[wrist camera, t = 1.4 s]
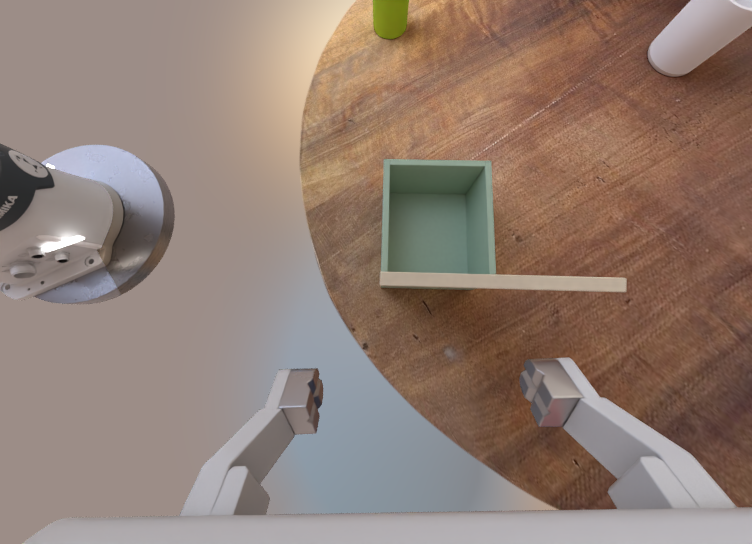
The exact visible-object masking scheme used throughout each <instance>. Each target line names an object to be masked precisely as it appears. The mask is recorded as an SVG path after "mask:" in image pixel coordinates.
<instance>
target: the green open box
mask: <svg viewBox="0 0 752 544" xmlns="http://www.w3.org/2000/svg"><path fill="white" fill-rule="evenodd" d="M381 272H418V273H457V274H496V262H495V238H494V215H493V192H492V168H491V161H463V160H403V159H384V175H383V213H382V251H381ZM381 288H412V289H449V290H474V289H477V288H446V287H409V286H381Z"/></svg>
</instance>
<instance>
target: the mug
mask: <svg viewBox="0 0 752 544" xmlns="http://www.w3.org/2000/svg"><path fill="white" fill-rule="evenodd" d="M751 26H752V0H691V1H690V2H689V3H688V4H687V5H686V6H685V7H684V8H683V9H682V10H681V12H680V13H679V14H678V15H677V16H676V17H675V18H674V19H673V20H672V21H671V22H670V23H669V24H668V26H667V27H666V28H665V29H664V30H663V31H662V32H661V33H660V34H659V35H658V36H657V37H656V38H655V40H654V41H653V42H652V43H651V44H650V46H649V49H648V60H649V63H650V64H651V65H652V67H653V68H654V69H655V70H656V71H658V72H659V73H661V74H663V75H667V76H672V77H677V76H682V75H685V74H687V73H689V72H690V71H692V70H693V69H694V68H696V67H697V66H699V65H700V64H701V63H703V62H704V61H705V60H707V59H708V58H709V57H711V56H712V55H713V54H715V53H716V52H718V51H719V50H720V49H722V48H723V47H724V46H726V45H727V44H728V43H730V42H731V41H732V40H734V39H735V38H737V37H738V36H739V35H741V34H742V33H743V32H745V31H746V30H747V29H749V28H750V27H751Z"/></svg>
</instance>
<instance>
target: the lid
mask: <svg viewBox="0 0 752 544" xmlns="http://www.w3.org/2000/svg"><path fill="white" fill-rule="evenodd" d="M380 286H409V287H446V288H483V289H521V290H558V291H595V292H626V278H613V277H574V276H535V275H496V274H457V273H418V272H380Z"/></svg>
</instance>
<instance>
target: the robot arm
mask: <svg viewBox="0 0 752 544" xmlns="http://www.w3.org/2000/svg"><path fill="white" fill-rule="evenodd" d="M54 168H55V167H54V166H52V165H50V164H47V165H46V166H45V165H43V164H41V163H39V162H38V161H35V160H34V159H32V158H30V157H28V156H26V155H24V154H22V153H20V152H18V151H15V150H13V149H11V148H9V147H7V146H4V145H2V144H0V290H1V291H2V292H3V293H4V294H5V295H7V296H9V297H10V298H13V299H15V300H26V299H29V298H31V297H34V296H36V295H39V294H41V293H43V292H46V291H48V290H50V289H53V288H55V287H57V286H60V285H62V284H65V283H67V282H69V281H72V280H74V279H76V278H79V277H81V276H83V275H86V274H88V273H91V272H93V271H95V270H98V269H100V268H102V267H105V266H106V265H108V264H109V262H110V260H111V255H112V246H113V244H114V241H115V240H116V238H117V236H118V234H119V232H120V229H121V226H122V223H123V205H122V202H121V199H120V197H119V195H118V194H117V193H116V191H115V190H114V189H113V188H112V187H110V186H109V185H107V184H105V183H103V182H101V181H97V180H92V179H87V178H83V177H79V176H75V175H72V174H68V173H65V172H62V171H59V170H56V169H54ZM524 367H525V369H526V370H524V371H523V372H521V375H520V387H521V390H522V393H523V395H524V397H525V398H526V399H527V400H528V401H530V402H531V403H532V404H531V408H530V410H531V412H532V414H533V416H534V418H535V420H536V422H537V424H538V426H539V427H563V429H564V430H566V431H567V432H568V433H569V434H570V435H571V436H572V437H573V438H574V439H575V440H576V441H577V442H578V443H579V444H581V445H582V446H583V447H584V448H585V449H586V450H587V451H588V452H589V453H590V454H591V455H592V456H593V457H594V458H596V459H597V460H598V461H599V462H600V463H601V464H602V465H603V466H604V467H605V468H606V469H607V470H608V471H610V472H611V473H612V474H613V475H614V476H615V477H616V478H617V479H618V480H617V481H616V482H615V483H614V484H613V485H612V486H610V487H609V490H608V493H609V495H610V497H611V499H612V501H613V502H614V504H615V506H616V508H617V509H605V510H542V511H540V510H538V511H475V512H474V511H473V512H472V511H471V512H407V513H406V512H405V513H345V514H344V513H339V514H274V515H266V512H267V508H268V504H269V500H270V498H269V495H268V494H267V492H266V491H265V490H264V488H263V487H262V486H261V485H260V483H261V482H262V480H263V479H264V478H265V476H266V475H267V474H268V472H269V471H270V469H271V468H272V467H273V465H274V464H275V463H276V461H277V460H278V458H279V457H280V455H281V454H282V453H283V451H284V450H285V449H286V447H287V446H288V445H289V443H290V442H291V440H292V439H293V438H294V435H296V434H313V433H316V432H317V427H318V421H319V413H318V410H317V409H318V408H319V407H320V406H321V405H322V399H323V384H322V380H320V379H319V371H318V369H280V370H279V371H278V372H277V374H276V376H275V379H274V382H273V385H272V387H271V390H270V393H269V396H268V398H267V401H266V404H265V406H264V409H260V410H259V411H258V412H257V413H256V414H255V415H254V416H253V417H252V418H251V419H250V420H249V421H247V422H246V424H244V425H243V427H241V428H240V429H239V430H238V431H237V432H236V433H235V434H234V435H233V436H232V437H231V439H229V440H228V441H227V442H226V443H225V444H224V445H223V446H222V447H221V448H220V449H219V450H218V451H217V452H216V453H215V454H214V455H213V456H212V457H211V458H210V459H209V460H208V461H207V462H206V463H205V464H204V465H203V467H202V469H201V471H200V473H199V475H198V478H197V479H196V481H195V484H194V486H193V488H192V490H191V492H190V494H189V496H188V498H187V500H186V503H185V505H184V507H183V509H182V511H181V513H180V515H179V516H149V517H148V516H146V517H145V516H142V517H72V518H64V519H59V520H57V521H55V522H52V523H51V524H49V525H48V526H46V527H45V528H43V529H42V530H40V531H39V532H37V533H36V534H34V535H33V536H31V537H30V538H29V539H27V540H26V541H25V542H24V543H22V544H752V507H738V508H737V507H736V505H735V504H734V503H733V502H732V501H731V500H730V499H729V497H728V496H727V495H726V494H725V493H724V492H723V490H722V489H721V488H720V487H719V486H718V485H717V483H716V482H715V481H714V480H713V479H712V478H711V477H710V475H709V474H708V473H707V472H706V471H705V470H704V468H703V467H702V466H701V465H700V464H699V463H698V461H697V460H696V459H695V458H694V457H693V456H692V455H691V454H690V453H689V452H687V451H685V450H684V449H682V448H681V447H679V446H678V445H676V444H675V443H673V442H672V441H670V440H669V439H667V438H666V437H664V436H663V435H661V434H659V433H658V432H656V431H655V430H653V429H652V428H650V427H649V426H647V425H646V424H644V423H643V422H641V421H640V420H638V419H637V418H635V417H634V416H632V415H630V414H629V413H627V412H626V411H624V410H623V409H621V408H620V407H618V406H617V405H615V404H614V403H612V402H611V401H609V400H608V399H606V398H600V396H599V395H598V394H597V392H596V391H595V390H594V388H593V387H592V386H591V384H590V383H589V382H588V380H587V379H586V377H585V376H584V375H583V373H582V372H581V371H580V369H579V368H578V367H577V365H576V364H575V363H574V361H573V360H572V359H570V358H543V359H528V360H526V361H525V363H524Z"/></svg>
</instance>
